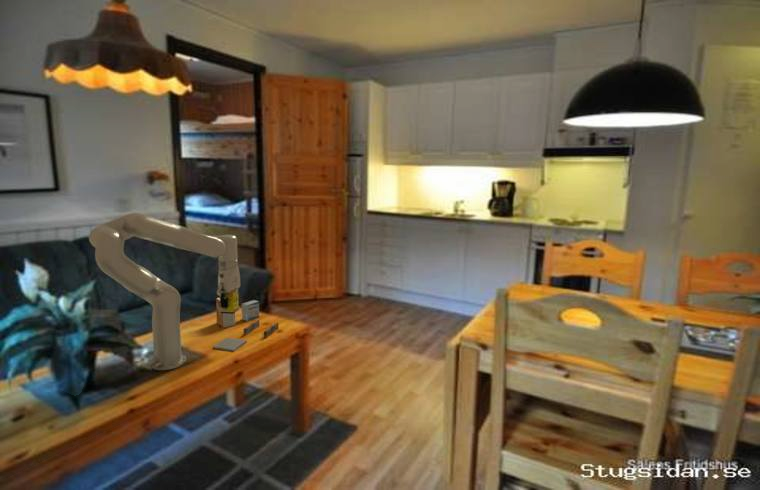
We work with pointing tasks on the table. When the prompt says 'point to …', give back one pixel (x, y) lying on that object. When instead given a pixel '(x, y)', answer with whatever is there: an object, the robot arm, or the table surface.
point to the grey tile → (230, 344)
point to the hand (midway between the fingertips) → (229, 304)
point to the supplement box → (231, 302)
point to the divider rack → (256, 324)
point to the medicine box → (250, 310)
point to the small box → (224, 316)
